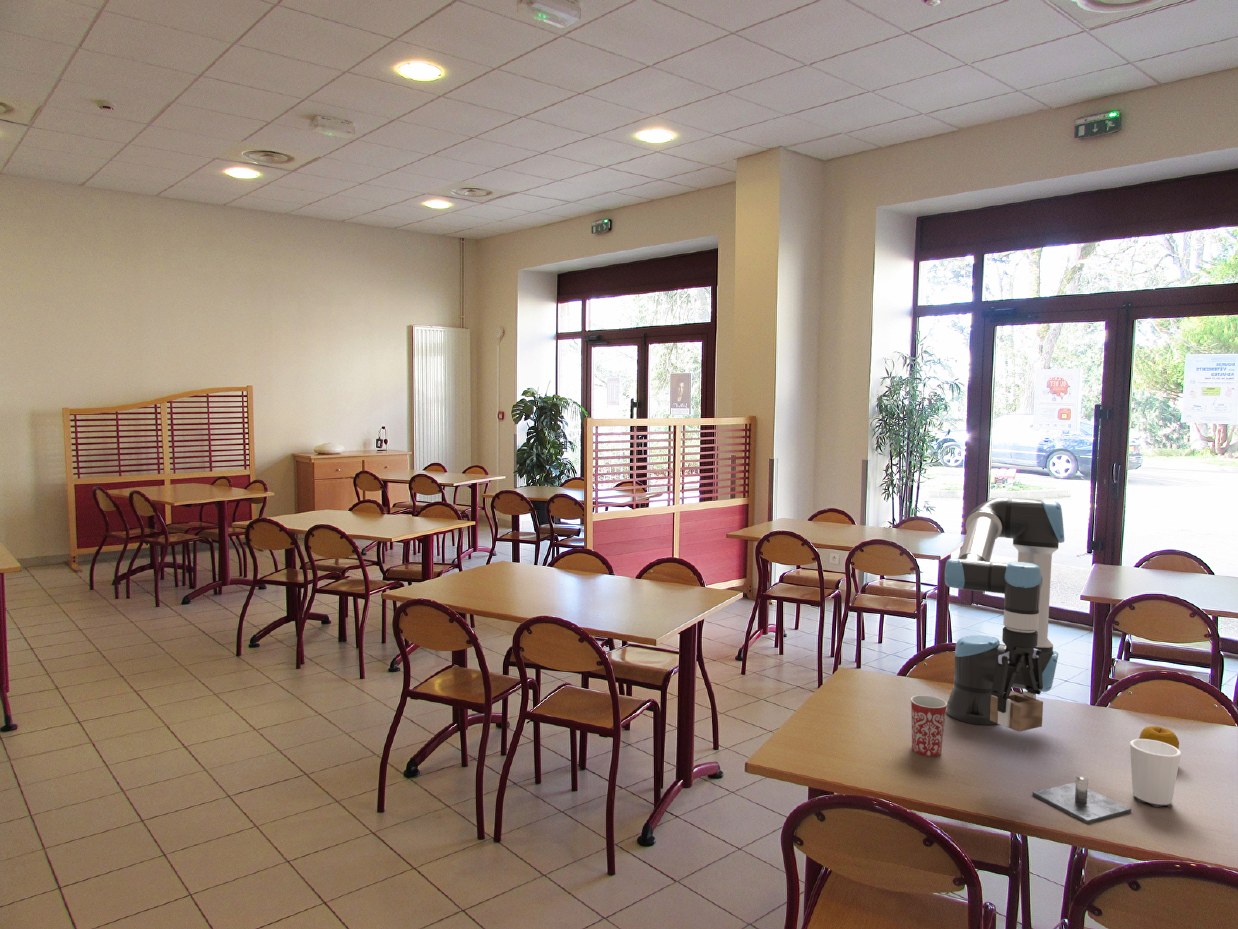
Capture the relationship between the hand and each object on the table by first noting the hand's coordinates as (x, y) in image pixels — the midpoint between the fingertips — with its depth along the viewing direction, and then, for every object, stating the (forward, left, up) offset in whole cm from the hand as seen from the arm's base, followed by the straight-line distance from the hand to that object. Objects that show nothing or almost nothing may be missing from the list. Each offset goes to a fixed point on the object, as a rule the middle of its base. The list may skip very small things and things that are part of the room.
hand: (1015, 722), depth 194 cm
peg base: (-7, +13, -15) cm, 21 cm away
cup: (-24, +18, -16) cm, 33 cm away
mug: (+4, -24, -16) cm, 29 cm away
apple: (-47, +4, -16) cm, 49 cm away
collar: (0, 0, 0) cm, 0 cm away
